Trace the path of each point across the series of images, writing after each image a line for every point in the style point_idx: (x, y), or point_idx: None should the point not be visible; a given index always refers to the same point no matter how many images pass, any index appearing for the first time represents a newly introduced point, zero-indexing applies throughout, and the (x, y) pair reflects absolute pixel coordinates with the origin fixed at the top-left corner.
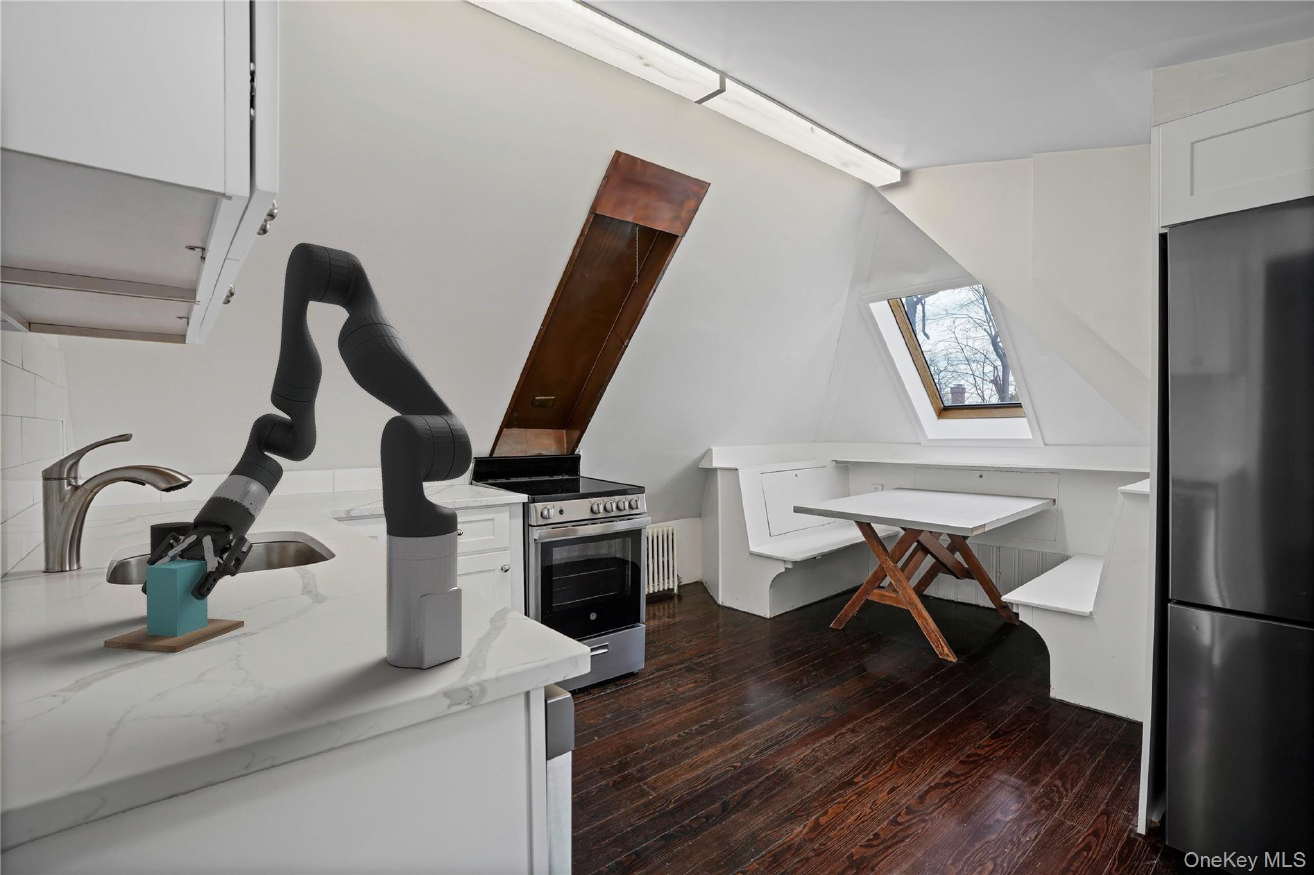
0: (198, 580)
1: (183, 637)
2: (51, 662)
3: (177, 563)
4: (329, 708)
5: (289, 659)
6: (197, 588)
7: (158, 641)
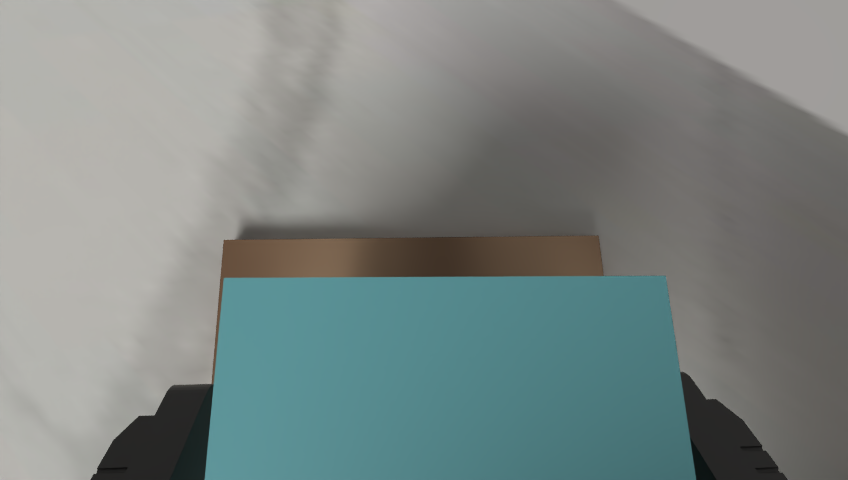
0: None
1: None
2: (586, 78)
3: None
4: None
5: None
6: (158, 412)
7: (358, 275)
